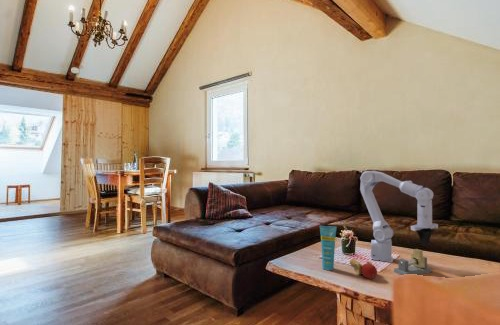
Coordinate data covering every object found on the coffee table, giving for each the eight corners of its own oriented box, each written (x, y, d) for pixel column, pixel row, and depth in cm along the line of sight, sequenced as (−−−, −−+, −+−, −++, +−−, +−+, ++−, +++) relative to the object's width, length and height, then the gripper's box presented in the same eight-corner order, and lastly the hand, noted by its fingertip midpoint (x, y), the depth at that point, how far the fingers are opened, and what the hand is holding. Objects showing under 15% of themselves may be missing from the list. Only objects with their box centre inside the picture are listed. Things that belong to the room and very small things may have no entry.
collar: (420, 268, 125) (420, 251, 125) (411, 264, 130) (411, 248, 130) (424, 267, 126) (424, 251, 126) (415, 263, 131) (415, 248, 131)
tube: (319, 269, 130) (319, 226, 130) (320, 265, 135) (319, 224, 135) (336, 271, 128) (336, 227, 128) (336, 267, 133) (336, 225, 133)
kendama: (343, 268, 135) (362, 278, 117) (344, 254, 136) (364, 262, 118) (359, 271, 136) (380, 281, 118) (360, 257, 136) (382, 265, 119)
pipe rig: (405, 276, 122) (405, 262, 121) (394, 271, 127) (394, 258, 127) (431, 272, 127) (431, 258, 127) (419, 267, 132) (419, 254, 132)
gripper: (420, 217, 125) (420, 249, 125) (444, 215, 130) (444, 246, 130) (406, 215, 131) (406, 245, 131) (429, 213, 136) (429, 242, 136)
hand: (424, 245), depth 131 cm, fingers closed
